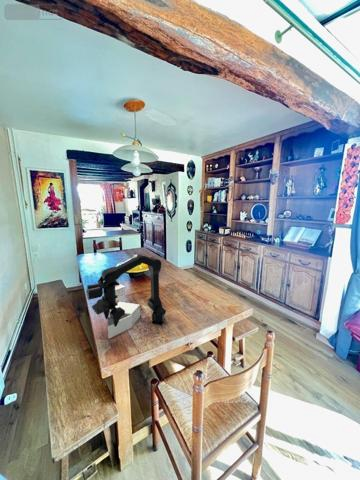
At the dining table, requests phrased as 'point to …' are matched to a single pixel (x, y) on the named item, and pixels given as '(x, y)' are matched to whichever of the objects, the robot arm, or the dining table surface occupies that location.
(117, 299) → the ink cartridge box
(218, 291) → the dining table surface
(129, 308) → the carton
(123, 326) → the front flap
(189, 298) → the dining table surface
